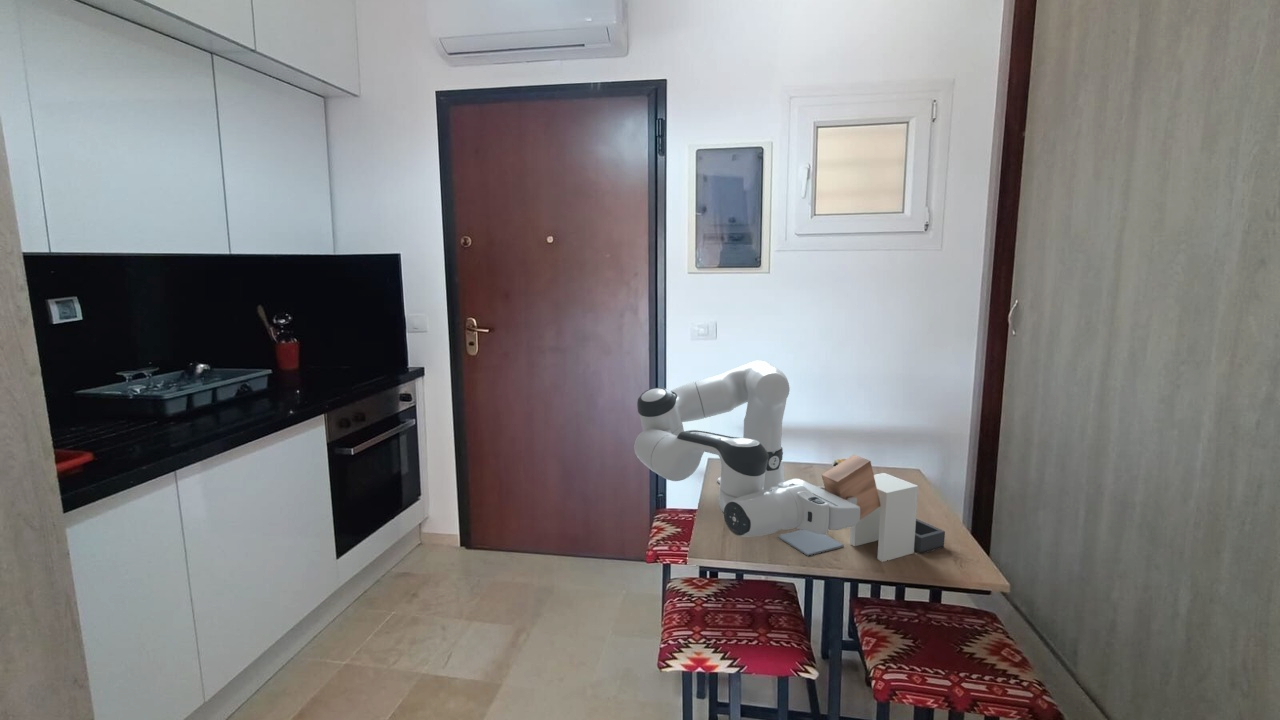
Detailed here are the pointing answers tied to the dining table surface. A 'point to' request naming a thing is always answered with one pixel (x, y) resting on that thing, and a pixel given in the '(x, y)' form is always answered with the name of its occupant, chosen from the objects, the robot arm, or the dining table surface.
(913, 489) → the white arch frame
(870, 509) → the block
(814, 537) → the mat
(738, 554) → the dining table surface
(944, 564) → the dining table surface
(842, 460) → the pastry
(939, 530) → the bin
